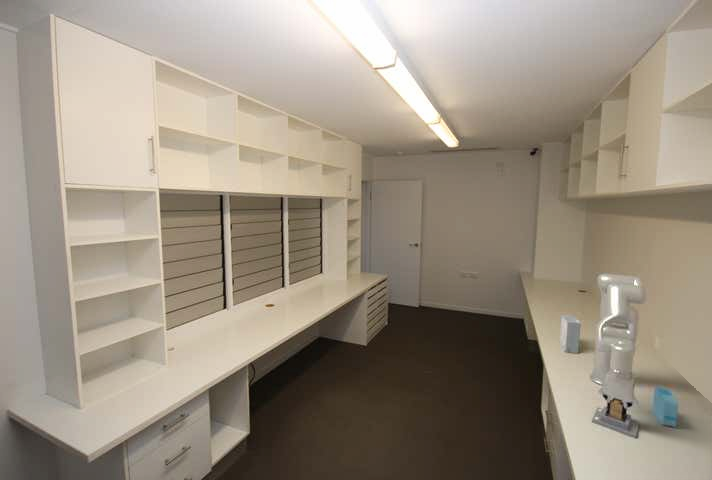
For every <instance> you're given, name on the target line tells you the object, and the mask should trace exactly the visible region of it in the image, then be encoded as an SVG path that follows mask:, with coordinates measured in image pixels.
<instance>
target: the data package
mask: <svg viewBox="0 0 712 480" xmlns="http://www.w3.org/2000/svg"><path fill="white" fill-rule="evenodd" d="M652 398H653V399H652V400H653V401H652V407H651V409H652V413H653V414H654V416H655V417H656V418H657V420H658V421H659V423H660V424H661V425H662V426H668V427H672V428H676V427H677V421H678V412H679V401H678V399H676V397H675V395H673V394H672V392H671V391H670V390H669V389H667V388H661V387H654V391H653V397H652Z"/></svg>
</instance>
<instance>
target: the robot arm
mask: <svg viewBox="0 0 712 480" xmlns="http://www.w3.org/2000/svg"><path fill="white" fill-rule="evenodd" d="M597 286H598V289H599V292H600V294H601V295H600V296H601V298H600V307H599V317H600V321H598V323H597V324H596V325H595V327H594V335H595V349H594V361H593V370H592V373H590V374H589V380H591V381H592V382H593V383H596V384H597V385H600V386H603V387H601V388H600V389H598V393H599V395H601V396H602V397H603V398H604V399H605V401H606V407H607V408H608V412H610V406H611V401H612V399H613V398H616V399H619V400H622V402H623V404H624V405H623V408H622V416H623V417H624V414H625V415H626V414H627V410H628V408H631V407H635V406H638V405H639V401H638V399H637V398H636V397H635V380H634V378H635V379H636V377H637V375H636V374H635V373H633V364H634V363H633V362H634V355H635V353H636V345H635V344H637V343H636V342H637V340H638V339H637V338H638V330H639V318H640V317H639V316H640V315H639V311H638V309H637V308H636V307H634V306H630V304H637V305H643V304H644V303H645V302H646V299H647V293H646V292H647V291H646V287H645V285H644V283H643V281H642V279H641V278H640V277H639V276H635V275H625V274H614V273H613V274H612V273H603V274H599V275H598V277H597ZM614 323H615V324H614Z"/></svg>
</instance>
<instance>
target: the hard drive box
mask: <svg viewBox="0 0 712 480" xmlns="http://www.w3.org/2000/svg"><path fill="white" fill-rule="evenodd" d="M581 325H582V324H581V322H580V321H579V320H578V319H577V317H575V315H567V314H564V315H563V314H562V315H561V321H560V334H559V344H560V346H561V347H562V349H563V351H564V352H565V353H572V354H579V346H580V337H581Z"/></svg>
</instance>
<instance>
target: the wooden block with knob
mask: <svg viewBox="0 0 712 480" xmlns="http://www.w3.org/2000/svg"><path fill="white" fill-rule="evenodd" d="M623 405H624V404H623V401H622V400H619V399H616V398H613V397H612V398H611V406H610V417H611V418H613V419H616V420H619V421H621V420H622V408H623Z"/></svg>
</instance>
